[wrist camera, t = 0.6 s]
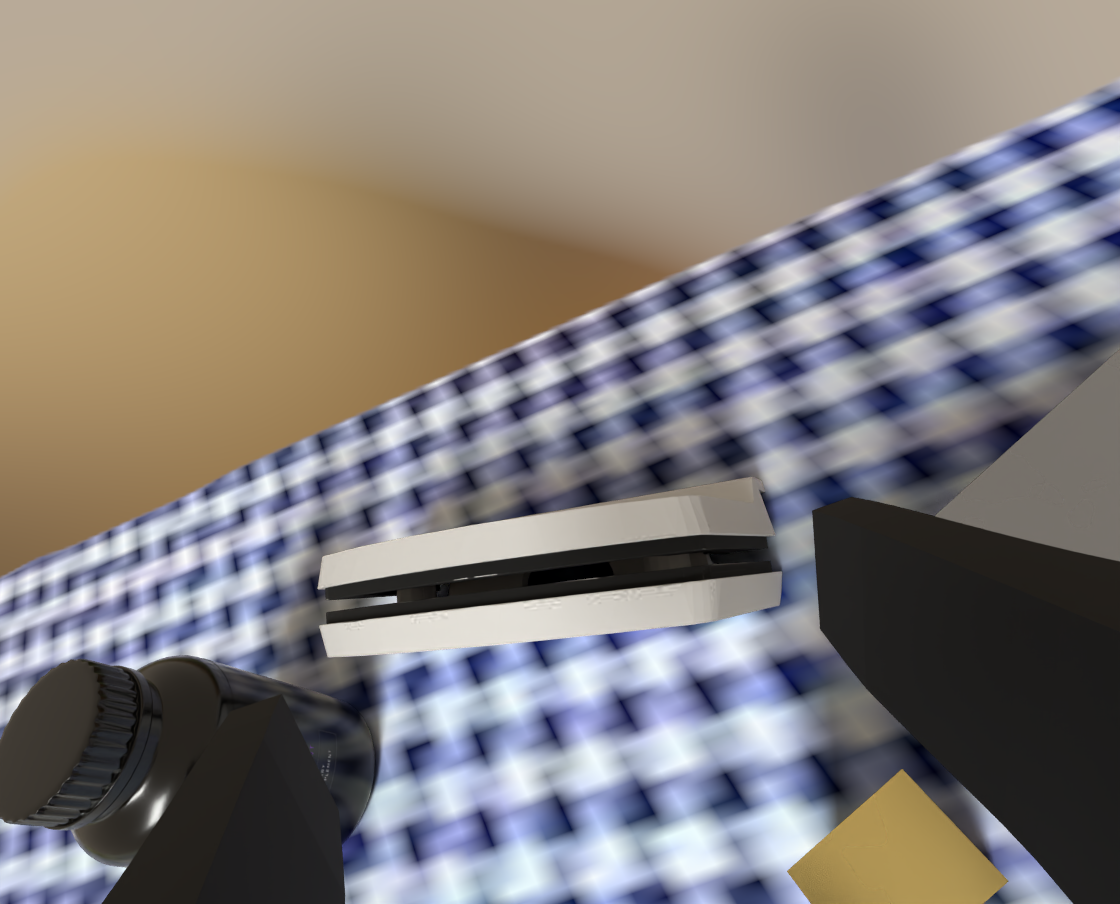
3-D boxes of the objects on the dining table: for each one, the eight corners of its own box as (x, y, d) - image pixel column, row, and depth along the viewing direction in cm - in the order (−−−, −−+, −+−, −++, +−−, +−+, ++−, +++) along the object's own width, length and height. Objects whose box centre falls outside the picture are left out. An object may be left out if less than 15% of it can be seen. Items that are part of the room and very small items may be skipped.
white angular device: (771, 478, 27) (707, 441, 19) (793, 601, 27) (736, 624, 18) (424, 538, 34) (256, 531, 25) (432, 637, 33) (259, 666, 24)
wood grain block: (996, 877, 19) (1008, 880, 13) (908, 954, 19) (879, 994, 13) (922, 798, 21) (902, 769, 15) (841, 870, 21) (786, 870, 15)
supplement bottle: (383, 851, 28) (90, 843, 18) (253, 885, 30) (-71, 892, 20) (381, 678, 32) (138, 601, 22) (266, 718, 34) (0, 662, 24)
